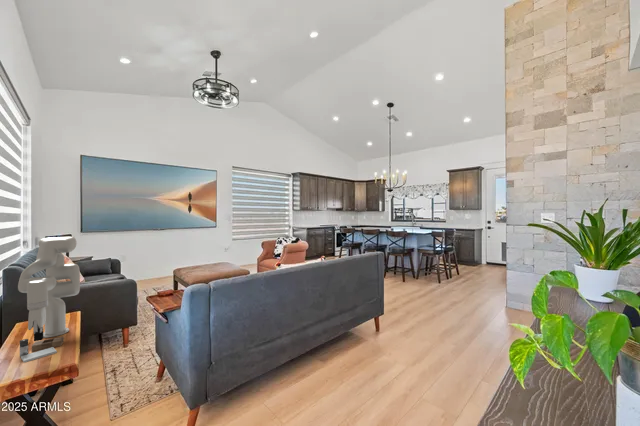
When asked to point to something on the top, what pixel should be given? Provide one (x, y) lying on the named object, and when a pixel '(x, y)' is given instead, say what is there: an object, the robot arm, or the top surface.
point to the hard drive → (38, 354)
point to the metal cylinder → (23, 347)
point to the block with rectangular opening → (47, 343)
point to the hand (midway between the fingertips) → (38, 339)
